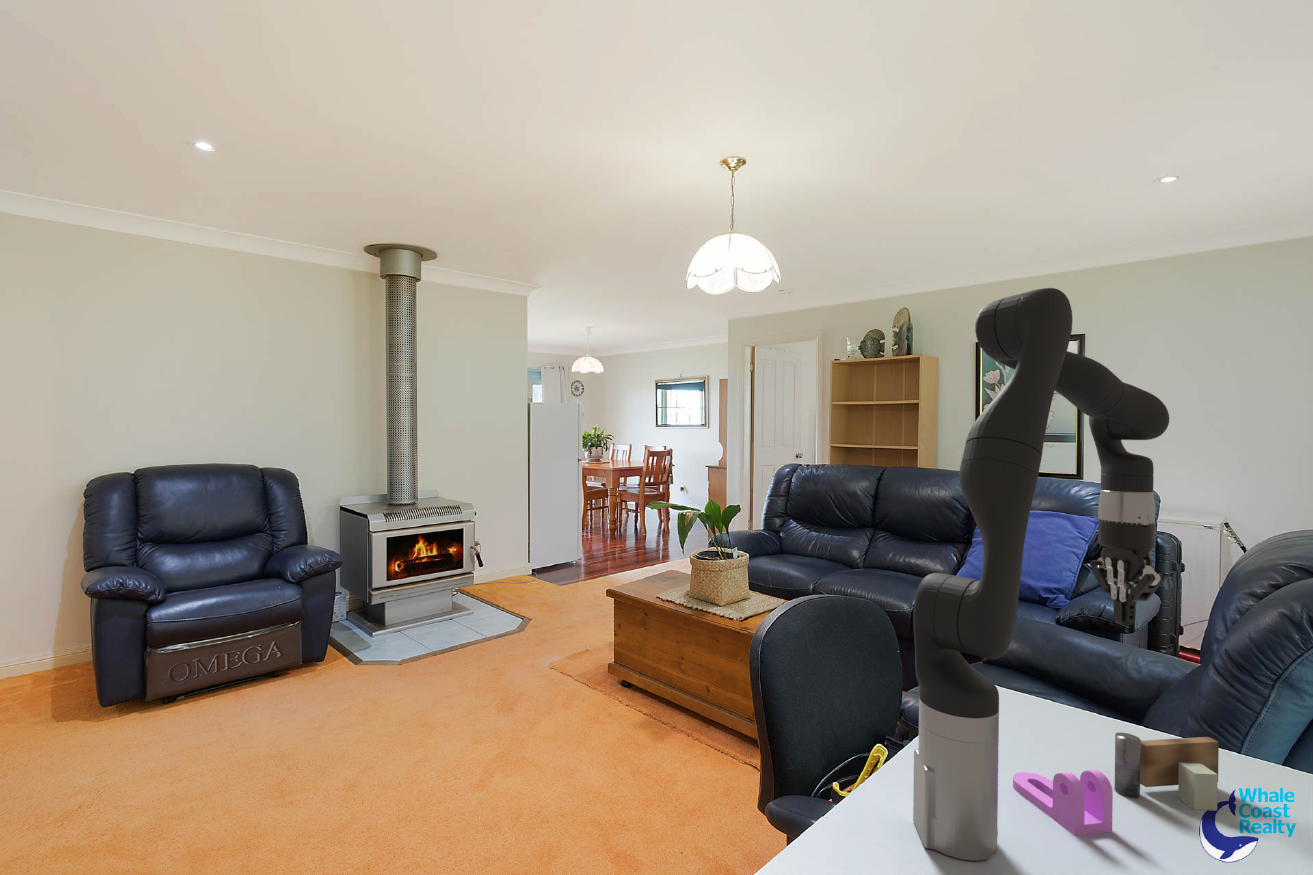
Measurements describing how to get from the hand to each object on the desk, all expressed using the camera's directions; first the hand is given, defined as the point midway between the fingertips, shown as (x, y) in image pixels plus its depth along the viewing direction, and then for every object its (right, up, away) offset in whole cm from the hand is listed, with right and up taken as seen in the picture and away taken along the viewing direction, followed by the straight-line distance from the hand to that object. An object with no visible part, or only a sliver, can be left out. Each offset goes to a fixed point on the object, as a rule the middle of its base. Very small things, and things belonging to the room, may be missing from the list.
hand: (1124, 623), depth 106 cm
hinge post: (-9, -21, -12) cm, 26 cm away
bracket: (-21, -21, -16) cm, 34 cm away
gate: (0, -20, -11) cm, 23 cm away
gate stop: (-1, -21, -15) cm, 26 cm away
